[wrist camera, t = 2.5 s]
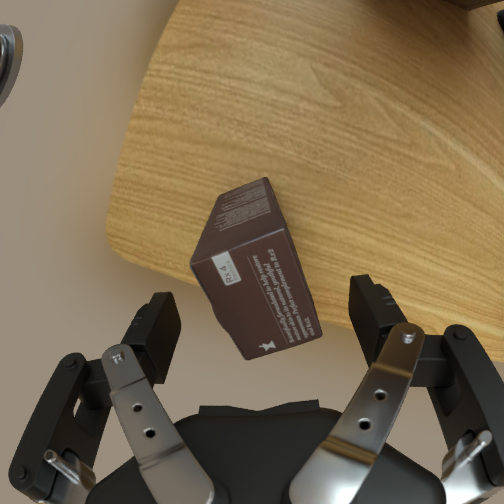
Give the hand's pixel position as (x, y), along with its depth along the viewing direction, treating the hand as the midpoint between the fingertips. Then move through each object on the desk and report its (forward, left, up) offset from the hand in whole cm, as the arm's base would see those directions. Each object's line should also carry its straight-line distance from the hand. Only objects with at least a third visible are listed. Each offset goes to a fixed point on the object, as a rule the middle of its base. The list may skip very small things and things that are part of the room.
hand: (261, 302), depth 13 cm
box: (0, 0, -12) cm, 12 cm away
